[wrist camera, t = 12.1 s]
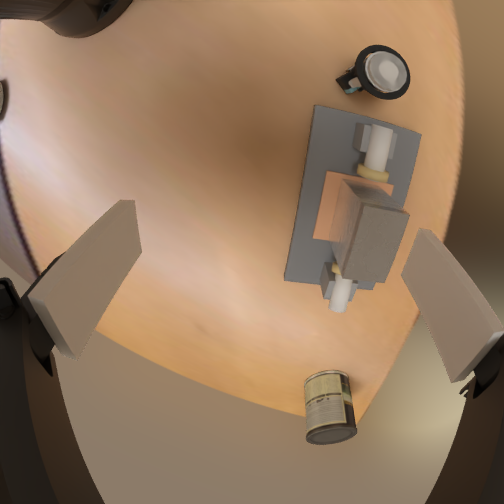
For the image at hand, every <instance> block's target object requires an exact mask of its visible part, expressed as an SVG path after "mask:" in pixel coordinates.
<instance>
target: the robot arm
mask: <svg viewBox="0 0 504 504" xmlns="http://www.w3.org/2000/svg"><path fill="white" fill-rule="evenodd" d="M131 2H132V0H0V19H20V20H35V21H41V22H42V23H44V24H45V25H47V26H48V27H49V28H51V29H52V30H54V31H55V32H56V33H57V34H59V35H61V36H65V37H72V38H82V37H87V36H90V35H92V34H94V33H97V32H98V31H100V30H102V29H103V28H105V27H106V26H108V25H109V24H111V23H112V22H113V21H114V20H115V19H116V18H118V17H119V16H120V15H121V14H122V13H123V11H124V10H125V9H126V8H127V7H128V6H129V4H130V3H131ZM141 253H142V249H141V243H140V237H139V231H138V224H137V217H136V209H135V201H134V200H119V201H118V202H117V203H116V204H115V205H114V206H113V207H111V208H110V209H109V210H108V211H107V212H106V213H105V214H104V215H103V216H102V217H100V218H99V219H98V220H97V221H96V222H95V223H94V224H93V225H92V226H91V227H90V228H89V229H88V230H87V231H86V232H85V233H84V234H83V235H82V236H81V237H80V238H79V239H78V240H77V241H76V242H75V243H74V244H73V245H72V246H71V247H70V248H69V249H68V250H67V251H66V252H64V253H63V254H61V255H60V256H58V257H57V258H55V259H54V260H53V261H52V262H51V263H50V265H49V266H48V267H47V269H45V270H44V271H43V272H42V273H41V276H39V277H38V278H37V279H36V280H35V282H34V283H33V284H32V285H31V286H30V288H29V289H28V290H27V291H26V292H25V294H24V295H23V296H22V297H21V299H20V297H19V295H18V293H17V291H16V289H15V287H14V285H13V283H12V281H11V280H10V279H9V278H0V504H105V503H104V501H103V499H102V497H101V495H100V494H99V492H98V490H97V488H96V486H95V484H94V482H93V479H92V477H91V475H90V473H89V471H88V468H87V466H86V464H85V461H84V459H83V456H82V454H81V452H80V449H79V446H78V444H77V441H76V438H75V435H74V432H73V429H72V426H71V423H70V420H69V417H68V413H67V410H66V406H65V403H64V399H63V395H62V391H61V387H60V382H59V378H58V373H57V368H56V363H55V358H54V355H53V353H52V351H51V350H52V348H53V347H54V345H56V347H57V348H58V350H59V351H60V353H61V354H62V355H63V356H66V357H69V358H72V359H74V360H77V361H78V359H79V357H80V355H81V353H82V352H83V350H84V348H85V346H86V344H87V342H88V340H89V338H90V336H91V335H92V333H93V331H94V329H95V327H96V326H97V324H98V322H99V320H100V319H101V317H102V315H103V313H104V312H105V310H106V308H107V307H108V305H109V303H110V302H111V300H112V298H113V297H114V295H115V293H116V292H117V290H118V288H119V287H120V285H121V284H122V282H123V280H124V279H125V277H126V276H127V274H128V273H129V271H130V270H131V268H132V266H133V265H134V263H135V262H136V260H137V259H138V257H139V256H140V254H141ZM401 276H402V278H403V280H404V282H405V284H406V285H407V287H408V289H409V291H410V293H411V295H412V297H413V298H414V300H415V302H416V304H417V306H418V308H419V310H420V312H421V314H422V316H423V318H424V320H425V322H426V325H427V327H428V329H429V331H430V333H431V335H432V338H433V340H434V342H435V344H436V346H437V349H438V351H439V354H440V356H441V358H442V361H443V363H444V366H445V368H446V371H447V373H448V376H449V378H450V381H451V383H453V382H458V381H461V380H464V379H465V378H466V377H467V376H468V375H469V374H470V373H471V372H472V371H474V373H475V376H474V377H473V378H472V380H471V381H469V382H468V383H467V385H465V386H464V387H463V388H462V389H461V391H460V393H459V394H462V393H463V392H464V391H465V390H468V392H467V393H466V394H465V395H464V397H466V402H465V406H464V410H463V413H462V417H461V420H460V423H459V426H458V430H457V432H456V436H455V438H454V441H453V444H452V446H451V449H450V452H449V454H448V457H447V459H446V462H445V464H444V466H443V469H442V471H441V473H440V476H439V477H438V480H437V482H436V484H435V486H434V488H433V490H432V492H431V493H430V495H429V497H428V499H427V501H426V503H425V504H504V327H503V326H502V324H501V323H500V321H499V319H498V317H497V316H496V314H495V313H494V312H493V310H492V308H491V307H490V305H489V304H488V302H487V301H486V299H485V298H484V296H483V295H482V293H481V292H480V291H479V289H478V288H477V286H476V285H475V284H474V282H473V281H472V280H471V278H470V277H469V275H468V274H467V273H466V272H465V270H464V269H463V268H462V267H461V265H460V264H459V263H458V261H457V260H456V259H455V258H454V256H453V255H452V254H451V253H450V252H449V250H448V249H447V248H446V247H445V246H444V245H443V243H442V242H441V241H440V240H439V239H438V238H437V237H436V235H435V234H434V233H433V232H432V231H431V230H426V229H421V228H419V230H418V233H417V236H416V238H415V241H414V244H413V246H412V249H411V252H410V254H409V257H408V259H407V261H406V264H405V266H404V269H403V271H402V273H401Z"/></svg>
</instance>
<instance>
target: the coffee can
mask: <svg viewBox="0 0 504 504" xmlns="http://www.w3.org/2000/svg"><path fill="white" fill-rule="evenodd" d="M304 387H305V406H306V429H307V430H306V431H307V436H306V440H307V442H309V443H311V444H317V445H326V444H334V443H339V442H342V441H345V440H348V439H350V438H352V437H353V436H355V435H356V434H357V428H356V423H355V417H354V410H353V403H352V397H351V391H350V385H349V377H348V375H347V374H346V373H344V372H341V371H336V370H329V371H323V372H319V373H316V374H314V375H312V376H310V377H309V378H308V379H307V380H306V381H305V383H304Z"/></svg>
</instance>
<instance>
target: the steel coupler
mask: <svg viewBox="0 0 504 504" xmlns="http://www.w3.org/2000/svg"><path fill="white" fill-rule="evenodd" d="M409 216H410V215H409V214H408V213H407V212H406V211H405V210H404V209H403V208H402V207H401V206H400V205H399V204H398V203H397V202H396V201H395V200H394V199H393V198H392V197H391V196H390V195H388V194H387V193H386V192H385V191H384V190H383V189H382V188H381V187H380V186H377V185H373V184H368V183H363V182H359V181H354V180H349V179H343V178H342V179H341V184H340V189H339V193H338V198H337V202H336V207H335V211H334V215H333V220H332V224H331V228H330V232H329V236H328V238H329V241H330V244H331V247H332V249H333V252H334V255H335V258H336V261H337V264H338V267H339V270H340V273H341V276H342V279H349V280H359V281H369V282H379V283H385V280H386V278H387V276H388V273H389V271H390V268H391V266H392V263H393V261H394V258H395V256H396V253H397V251H398V248H399V245H400V242H401V240H402V237H403V234H404V231H405V228H406V225H407V222H408V219H409Z"/></svg>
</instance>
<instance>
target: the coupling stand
mask: <svg viewBox="0 0 504 504" xmlns="http://www.w3.org/2000/svg"><path fill="white" fill-rule="evenodd" d="M420 139H421V134H419V133H416V132H414V131H411V130H408V129H405V128H402V127H399V126H396V125H393V124H390V123H387V122H383V121H380V120H377V119H373V118H370V117H366V116H362V115H358V114H354V113H350V112H346V111H342V110H338V109H333V108H328V107H324V106H319V105H314V109H313V116H312V123H311V129H310V136H309V142H308V148H307V155H306V161H305V167H304V173H303V178H302V184H301V190H300V196H299V201H298V207H297V212H296V217H295V223H294V228H293V233H292V238H291V243H290V248H289V253H288V258H287V263H286V268H285V273H284V281H291V282H300V283H308V284H317V285H321V289H322V294H323V299H329V300H330V303H329V307H328V308H329V309H330V310H332V311H335V312H345V311H346V308H347V304H348V301H352V299H353V296H354V294H355V291H356V289H366V290H373V287H374V285H375V283H376V282H369V281H359V280H349V279H342V276H341V273H340V270H339V267H338V264H337V261H336V258H335V255H334V252H333V249H332V247H331V244H330V241H329V238H328V236H329V232H330V228H331V224H332V220H333V215H334V211H335V207H336V202H337V198H338V193H339V189H340V184H341V179H342V178H343V179H349V180H354V181H359V182H363V183H368V184H373V185H377V186H380V187H381V188H382V189H383V190H384V191H385V192H386V193H387V194H388V195H390V196H391V197H392V198H393V199H394V200H395V201H396V202H397V203H398V204H399V205H400V206H401V207H402V208H403V206H404V202H405V199H406V196H407V192H408V188H409V185H410V181H411V177H412V174H413V170H414V166H415V162H416V157H417V153H418V148H419V144H420Z"/></svg>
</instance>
